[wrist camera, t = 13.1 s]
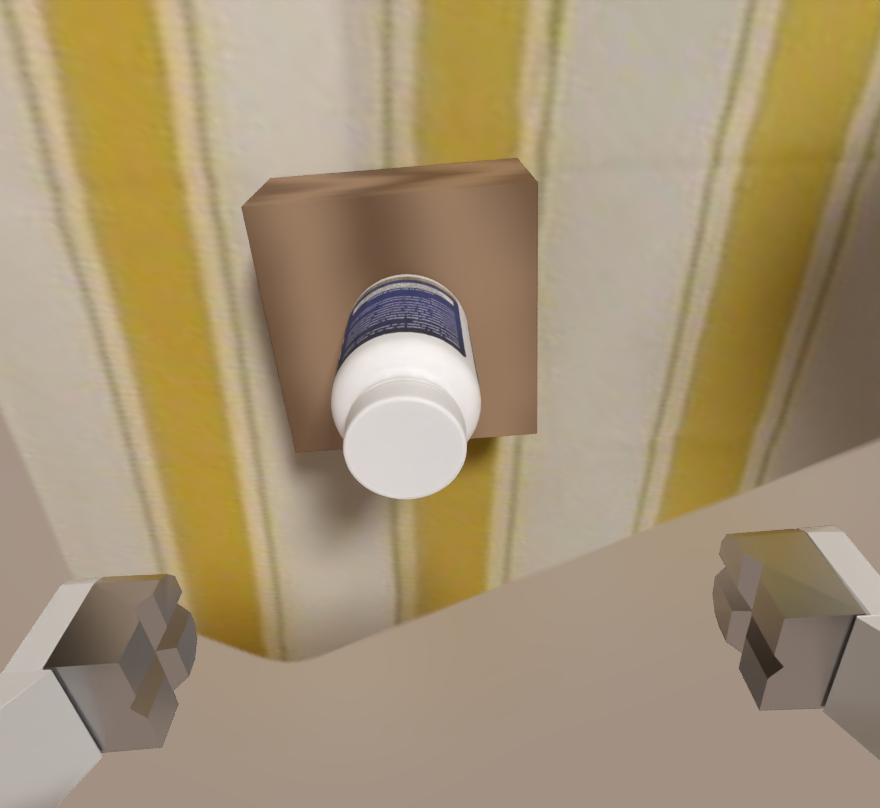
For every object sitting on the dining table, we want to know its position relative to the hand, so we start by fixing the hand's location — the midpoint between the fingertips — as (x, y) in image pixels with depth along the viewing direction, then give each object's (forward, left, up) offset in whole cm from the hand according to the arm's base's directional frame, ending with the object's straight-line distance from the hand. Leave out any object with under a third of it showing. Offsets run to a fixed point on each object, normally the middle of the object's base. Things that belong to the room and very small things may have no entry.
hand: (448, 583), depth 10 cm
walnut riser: (+1, +4, -26) cm, 26 cm away
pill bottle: (+1, +4, -20) cm, 20 cm away
